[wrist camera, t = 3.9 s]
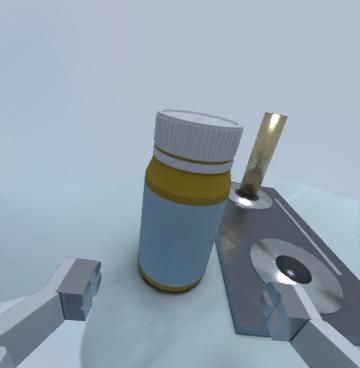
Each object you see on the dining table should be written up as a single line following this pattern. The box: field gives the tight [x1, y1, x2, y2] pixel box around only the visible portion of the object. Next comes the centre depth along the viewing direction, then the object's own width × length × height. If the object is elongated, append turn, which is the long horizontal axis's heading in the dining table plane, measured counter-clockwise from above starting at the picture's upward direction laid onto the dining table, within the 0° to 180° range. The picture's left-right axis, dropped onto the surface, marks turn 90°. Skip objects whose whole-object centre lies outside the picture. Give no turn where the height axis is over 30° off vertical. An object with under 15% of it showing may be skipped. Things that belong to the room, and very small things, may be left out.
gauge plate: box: [215, 112, 360, 345], centre depth 24 cm, size 15×27×15 cm, turn 179°
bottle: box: [138, 109, 243, 292], centre depth 17 cm, size 7×7×15 cm
